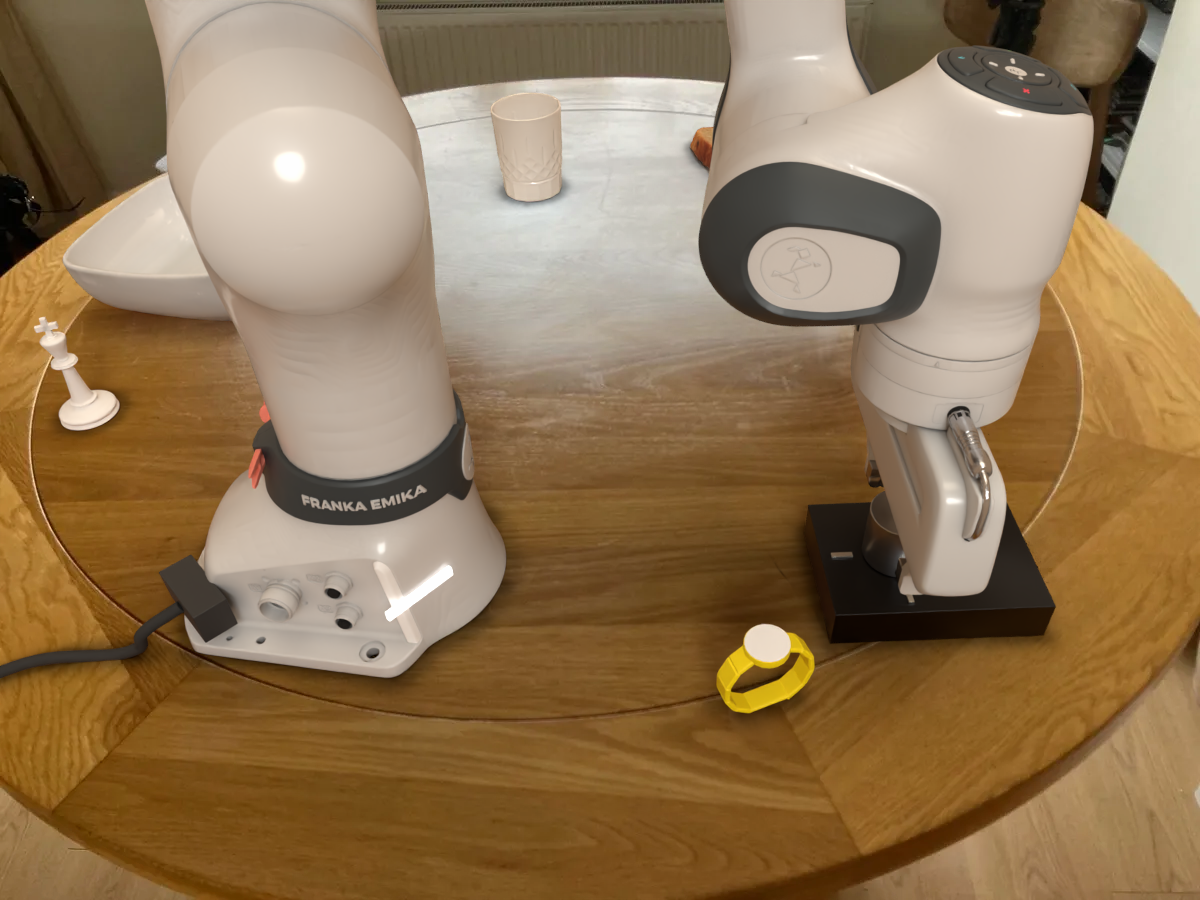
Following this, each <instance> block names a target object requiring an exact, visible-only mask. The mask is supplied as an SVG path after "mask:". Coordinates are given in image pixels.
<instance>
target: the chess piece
mask: <svg viewBox="0 0 1200 900" xmlns="http://www.w3.org/2000/svg"><path fill="white" fill-rule="evenodd" d="M38 321H39V324H37V325H34V326H33V329H34V332H35V333H36V334H38V333H42V332H43V333H45V334H44V335H43V336H41V338H40V339H39V345H40V346H41V347H42V348H43V349H44V350H46V352H48V353H49V354H50V356H52V357H53V358H52V360H51V361H50V367H51V369H52V370H55V371H61V372H62V375H63V377H64V381H65V384H66V386H67V389H68V392H69V395H70V398H69V399H68V400H66V401H65V402H64V403H63V404H62V405H61V407H60V408H59V410H58V418H59V421H60V424H61V425H62V426H63V427H64V428H65V429H67V430H70V431H86V430H87V431H88V430H91V429H94V428H97V427H100V426H102V425H104V424H105V423H107V422H108V421H110V420H112V419H113V418H114V417H115V416H116V415H117V413H118V412H119V410H120V401H119V400H118V398H117V397H116V396H115V394H114V393H113V392H111V391H108V390H105V389H90V388H89V386H88V385H87V384H86V382H85V381H84V379H83V378H82V377H81V375H80V373H79V372H78V371H77V369H76V367H75V365H76V364H78V361H79V357H78V356H77V355H76V354H75V353H72V352H68V344H67V342H68V341H67V335H66V334H65V333H64V332H62V331H53V330H57V329H59V324H58V322H57V320H55V321H51V322H48V320H47V318H46V316H42V317H39V318H38Z"/></svg>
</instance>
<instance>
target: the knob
mask: <svg viewBox="0 0 1200 900" xmlns="http://www.w3.org/2000/svg"><path fill="white" fill-rule="evenodd" d="M870 502H871V505H870V510H869V514H868V519H867V524H866V529H865V534H864V539H863V544H862V553H863V556H864V558H865V560H866V561H867V563H868V564H869V565H870V566H871V567H872V568H874V569H875V570H877V571H878V572H880V573H882V574H885V575H888V576H891V577H896V576H895V570H896V569H897V563H898V559H899V558H906V557H905V554H904V551H903V548H902V544H901V541H900V538H899V535H898V531H897V528H896V525H895V522H894V519H893V515H892V512H891V509H890V506H889V502H888V499H887V496H886V493H885V490H882V491H881V492H879V493H878V494H876V495H875V497H873V498H872V500H871V501H870Z"/></svg>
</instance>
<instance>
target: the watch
mask: <svg viewBox="0 0 1200 900" xmlns="http://www.w3.org/2000/svg"><path fill="white" fill-rule="evenodd" d="M742 641H743V642H742V643H743V644H742V645H741V646H740V647H739V648H737V649H735V651H733V652H732V653H731V654H729V655H728V656H727V658H726V659H725V660H724V662H723V663H722V664H721V666H720V668H719V669H718V672H717V673H716V683H715V686H716V689H717V691H718V692H719V694H720V696H721V698H722V700H723V702H724V704H725V705H726V706H727V707H728V708H729V709H730V710H731V711H732V712H736V713H743V714H751V713H753V712H756V711H759V710H761V709H764V708H766V707H770V706H772V705H774V704H777V703H779V702H782V701H786V700H790V699H791V698H792V697H793V696H795V695H796V694H797V693H798V692H799V691H801V689H803V688H804V687H805V686H806V685H807V683H808V682H809V680H810V678H811V677H812V675H813V673H814V671H815V668H816V665H815V656H814V654H813V653H812V651H811V649H810V648H809V647H808V645H807V643H806V642H805V640H804V639H803V638H802V637H800V636H799V635H797V634H796V633H795V632H787V631H785V630H784V629H782V628H781V627H779V626H777V625H774V624H771V623H770V624H769V623H761V624H757V625H755V626H753V627H751V628H749V629H748V630H747V631H746V632H745V634H744V637H743V640H742ZM791 653H794V654H795V653H796V654H797V653H799V655H798V657H797V659H796V661H795V663H794V664H793V666H792V667H791V668H790V669H789V670H788V671H787V672H785V674H784V675H782V676H781V677H780V678H778V679H776V680H774V681H771V682H769V683H766V684H764V685H761V686H758V687H756V688H753V689H750V690H748V691H745V692H734V691H732V688H733V687H734V685H735V684H736V682H737V681H738V680H739V678H740V677H741V675H743V674H744V673H746V672H747V671H748V670H750V669H751V668H752V667H754V666H756V667H759V668H761V669H774V668H778V667H780V666H782V665H784V664H785V663H786V662H787V661H788V660H789V658H790V656H791Z"/></svg>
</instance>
